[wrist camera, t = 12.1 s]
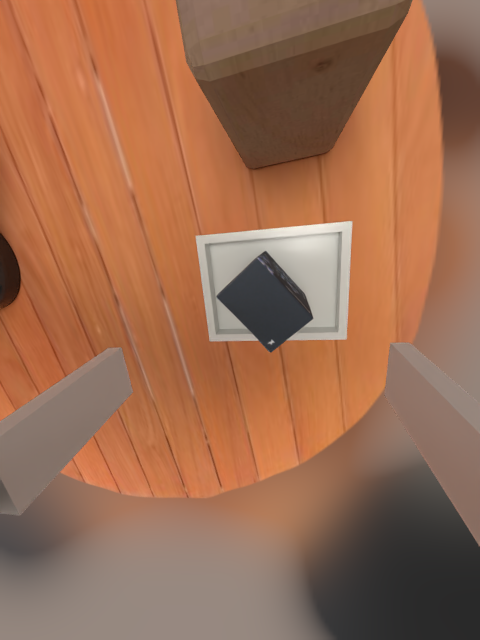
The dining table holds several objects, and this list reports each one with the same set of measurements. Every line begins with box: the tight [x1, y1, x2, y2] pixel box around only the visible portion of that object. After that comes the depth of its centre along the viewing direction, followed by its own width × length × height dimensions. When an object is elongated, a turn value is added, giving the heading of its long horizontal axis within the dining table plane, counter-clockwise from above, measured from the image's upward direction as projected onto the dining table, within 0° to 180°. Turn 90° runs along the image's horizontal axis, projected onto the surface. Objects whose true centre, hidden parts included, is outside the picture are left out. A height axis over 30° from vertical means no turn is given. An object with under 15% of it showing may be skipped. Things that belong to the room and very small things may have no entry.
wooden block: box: [176, 0, 412, 169], centre depth 18 cm, size 10×10×20 cm
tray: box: [196, 221, 352, 341], centre depth 33 cm, size 18×14×3 cm
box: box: [216, 251, 313, 352], centre depth 28 cm, size 8×6×11 cm
